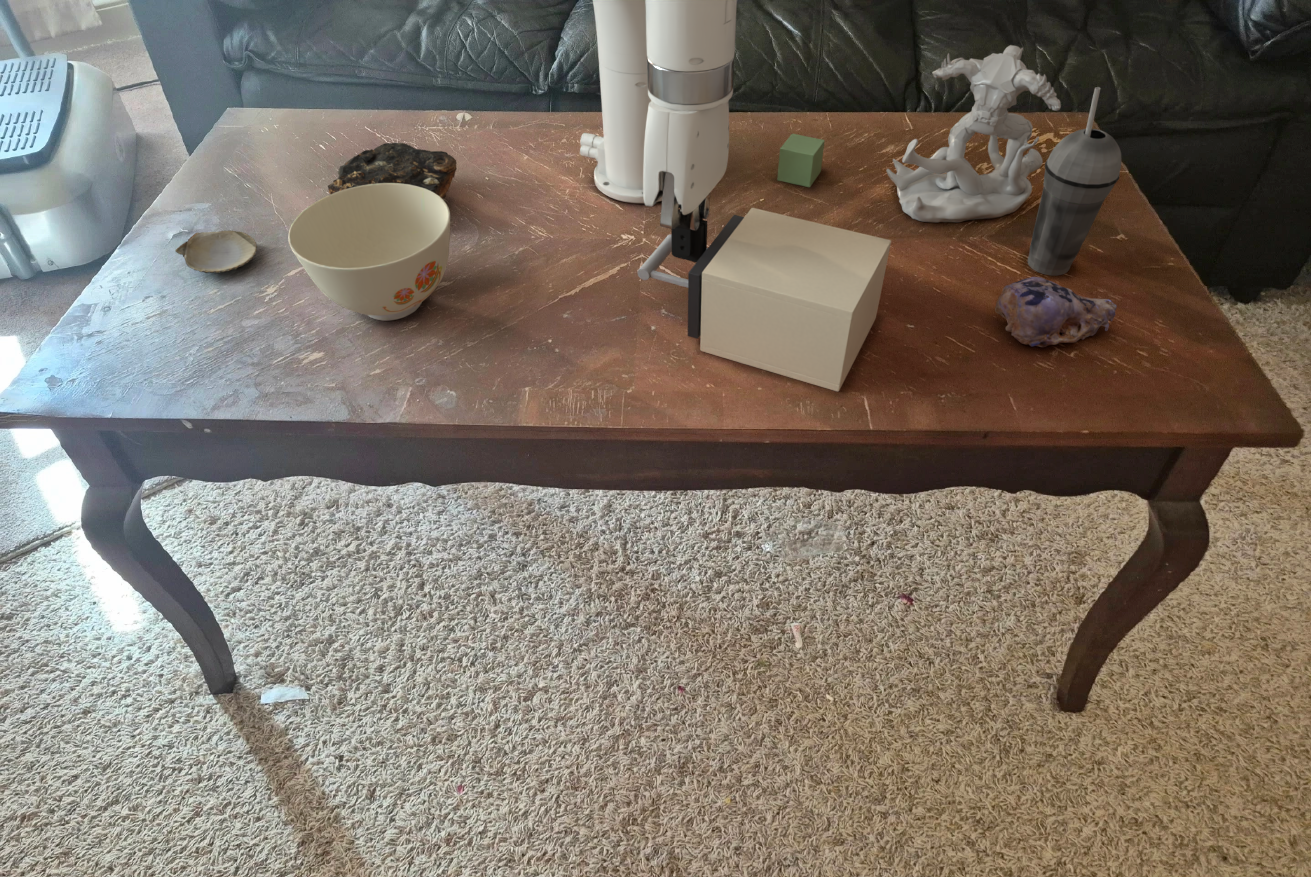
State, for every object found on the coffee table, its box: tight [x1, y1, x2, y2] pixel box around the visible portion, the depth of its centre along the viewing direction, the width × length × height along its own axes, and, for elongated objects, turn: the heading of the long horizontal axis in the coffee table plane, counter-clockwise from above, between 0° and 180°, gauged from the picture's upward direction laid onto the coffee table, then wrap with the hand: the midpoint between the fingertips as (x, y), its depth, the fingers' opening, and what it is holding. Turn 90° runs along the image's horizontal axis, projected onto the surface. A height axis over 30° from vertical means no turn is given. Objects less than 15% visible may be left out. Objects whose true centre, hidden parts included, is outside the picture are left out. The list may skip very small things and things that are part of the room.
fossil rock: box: [327, 141, 457, 201], centre depth 108 cm, size 14×14×6 cm
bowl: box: [287, 183, 451, 322], centre depth 92 cm, size 16×16×10 cm
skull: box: [994, 276, 1118, 348], centre depth 88 cm, size 12×8×6 cm, turn 85°
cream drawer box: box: [699, 207, 892, 393], centre depth 87 cm, size 15×13×10 cm
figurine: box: [885, 44, 1062, 223], centre depth 102 cm, size 18×13×18 cm
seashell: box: [175, 230, 258, 274], centre depth 101 cm, size 8×3×8 cm
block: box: [776, 133, 826, 188], centre depth 112 cm, size 4×4×4 cm
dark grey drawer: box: [636, 214, 745, 340], centre depth 89 cm, size 20×11×8 cm, turn 64°
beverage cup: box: [1027, 86, 1122, 276], centre depth 91 cm, size 7×7×20 cm
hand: (689, 255), depth 90 cm, fingers closed
